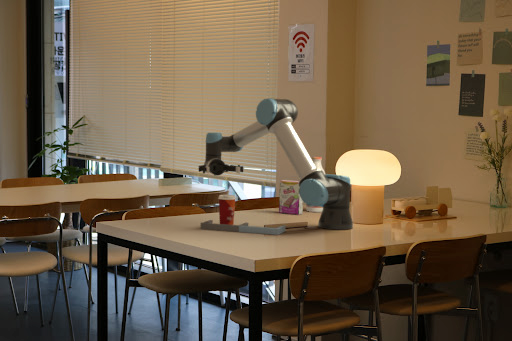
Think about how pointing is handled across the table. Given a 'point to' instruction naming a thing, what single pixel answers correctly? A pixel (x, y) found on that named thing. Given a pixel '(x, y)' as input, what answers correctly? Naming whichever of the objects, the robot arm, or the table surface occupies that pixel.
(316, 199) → the robot arm
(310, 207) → the fruit juice
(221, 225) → the bay organizer
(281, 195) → the candy bar box
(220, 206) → the paper cup
